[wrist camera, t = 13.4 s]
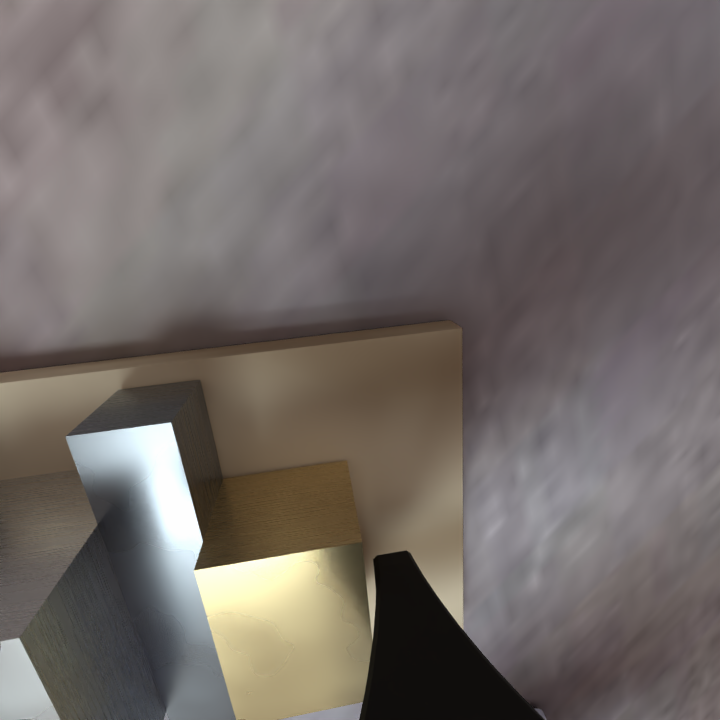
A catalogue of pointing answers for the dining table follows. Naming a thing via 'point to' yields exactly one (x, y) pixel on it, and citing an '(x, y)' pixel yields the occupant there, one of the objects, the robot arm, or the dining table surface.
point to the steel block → (64, 612)
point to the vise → (297, 426)
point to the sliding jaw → (227, 562)
